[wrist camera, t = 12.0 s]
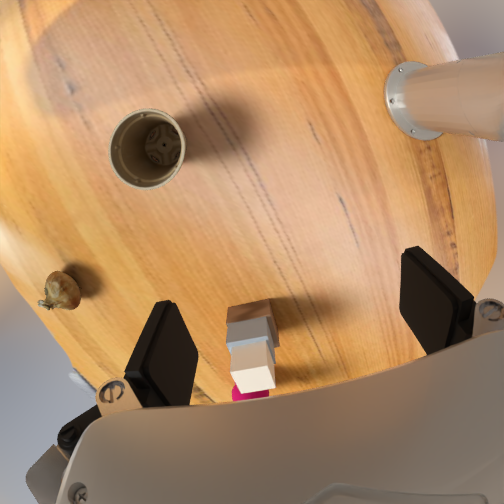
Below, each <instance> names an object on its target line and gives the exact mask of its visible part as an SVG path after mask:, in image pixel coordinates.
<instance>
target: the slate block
mask: <svg viewBox="0 0 504 504" xmlns="http://www.w3.org/2000/svg"><path fill="white" fill-rule="evenodd" d="M264 340H266V342H267V345H268V348H269V351H270V354H271V356H272V359H273V362H274V364H276V362H275V351H274V343H273V339H272V336H271V332H270V329H269V325H268V322H267V318H266V317H261V318H256V319H251V320H246V321H241V322H235V323H230V324H228V329H227V338H226V344H227V347H228V349H229V351H230V354H231V353H232V347H234V346H239V345H245V344H250V343H254V342H259V341H264Z"/></svg>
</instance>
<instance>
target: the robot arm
mask: <svg viewBox="0 0 504 504" xmlns="http://www.w3.org/2000/svg"><path fill="white" fill-rule="evenodd" d="M384 98H385V104H386V107H387V110H388V113H389V115H390V117H391V119H392V120H393V121H394V123H395V124H396V126H397V127H398V128H399V129H400V130H401V131H402V132H404V133H405V134H406V135H408V136H410V137H412V138H415V139H418V140H432V139H435V138H437V137H439V136H440V135H442V134H443V133H451V134H458V135H465V136H471V137H477V138H483V139H488V140H493V141H504V52H500V53H495V54H490V55H485V56H479V57H473V58H467V59H461V60H456V61H451V62H446V63H442V64H437V65H433V66H429V67H428V66H427V65H425V64H422V63H420V62H414V61H410V62H404V63H401V64H399V65H397V66H395V67H394V68H393V69H392V70H391V71H390V73H389V74H388V76H387V78H386V81H385V86H384ZM390 101H391V103H390ZM399 309H400V313H401V315H402V317H403V318H404V320H405V321H406V323H407V324H408V326H409V327H410V329H411V330H412V332H413V333H414V335H415V336H416V338H417V339H418V341H419V343H420V344H421V346H422V347H423V349H424V351H425V352H426V354H427V355H426V356H423V357H421V358H418V359H415V360H412V361H410V362H407V363H404V364H401V365H398V366H395V367H392V368H388V369H385V370H382V371H379V372H375V373H372V374H369V375H365V376H361V377H358V378H354V379H350V380H346V381H343V382H339V383H334V384H330V385H326V386H322V387H317V388H312V389H308V390H303V391H298V392H292V393H287V394H281V395H275V396H269V397H262V398H256V399H248V400H241V401H232V402H223V403H212V404H199V405H189V404H190V399H191V393H192V388H193V383H194V378H195V373H196V368H197V363H198V351H197V348H196V346H195V344H194V342H193V340H192V338H191V336H190V333H189V331H188V329H187V327H186V325H185V323H184V320H183V318H182V316H181V314H180V312H179V309H178V307H177V305H176V303H172V302H171V301H170V300H166V301H160V302H156V304H155V305H154V308H153V310H152V312H151V314H150V316H149V318H148V320H147V322H146V324H145V326H144V329H143V331H142V333H141V335H140V337H139V339H138V342H137V344H136V346H135V348H134V351H133V353H132V355H131V357H130V360H129V362H128V364H127V366H126V369H125V371H124V372H125V376H124V378H118V377H116V378H112V379H109V380H107V381H106V382H104V383H103V384H102V385H101V386H100V387H99V388H98V390H97V392H96V396H95V397H96V402H97V405H95V406H94V407H92V408H91V409H89V410H88V411H86V412H84V413H83V414H81V415H80V416H78V417H77V418H75V419H73V420H72V421H71V422H69V423H67V424H66V425H64V426H63V427H62V429H61V430H60V432H59V434H58V438H57V440H58V445H57V446H55V445H54V444H53V445H52V446H51V447H50V448H49V449H48V450H47V451H46V452H45V453H44V454H43V455H42V456H41V457H40V459H39V460H38V461H37V462H36V463H35V464H34V465H33V466H32V467H31V468H30V469H29V470H28V472H27V474H26V483H27V486H28V487H29V489H30V491H31V492H32V494H33V495H34V497H35V499H36V500H37V502H38V503H39V504H504V304H503V303H502V302H500V301H498V300H495V299H483V300H481V301H479V302H478V303H476V302H475V301H474V296H473V295H472V294H471V293H470V292H469V291H468V290H467V289H466V288H465V287H464V286H463V285H462V284H460V283H459V282H458V281H457V280H456V279H455V278H454V277H453V276H452V275H451V274H450V273H449V272H448V271H447V270H445V269H444V268H443V267H442V266H441V265H440V264H439V263H438V262H437V261H435V260H434V259H433V258H432V257H431V256H430V255H429V254H427V253H426V252H425V251H424V250H423V249H422V248H420V247H419V246H415V247H411V248H407V249H405V251H404V253H402V255H401V286H400V304H399Z"/></svg>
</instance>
